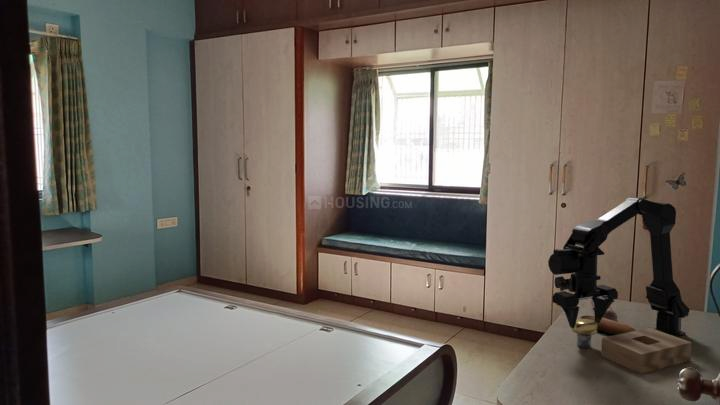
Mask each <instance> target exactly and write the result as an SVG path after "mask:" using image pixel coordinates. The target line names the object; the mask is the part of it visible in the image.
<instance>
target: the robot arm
mask: <svg viewBox="0 0 720 405" xmlns="http://www.w3.org/2000/svg"><path fill="white" fill-rule="evenodd" d="M637 215H639V216H641V218H642V223H643V225H644V226H645V227H646V230H647V231H648V232H649V236H650V237H649V238H650V250H651V264H652V265H651V266H652V281H651V283H650V284H649V285H646V286H645V292H646V296H645V298H646V299H647V301H648V304H649V306H650V308H651V310H652V311H656V320H655V321H656V323H655V328H653V329H655V330H658V331H661V332H664V333H666V334H669V335H672V336H675V337H680V336H684V335H687V333H686V332H685V331H682V319H685V317H688V316H689V314H690V310H691V309H690V307H688V306H687V305H686V304H685V302H684V300H682V295H681V294H682V293H681V291H680V288H679V287H678V285H677V284H676V282H675V280H674V276H673V273H674V272H673V263H672V262H673V261H672V245H671V231H672V230H673V229H674V226H675V225H676V219H677V210H676V207H675V206H673V204H671V203H668V202H667V203H666V202H657V201H651V200H648V199H645V198H643V197H636V196H630V197H628V198H626V199H625V200H624V201H623V202H622V203H620V204H619V205H617V206H616V207H615V208H613V209H611V210H610V211H608V212H606V213H604V215H602V216H600V217H599V218H597V219H595V220H591V221H586V222H583V223H581V224H579V225H576V226H575V227H574V228H572V231H571V232H572V233H571V234H570V236H569V237H568V239H567V240H566V242H565V244H563V245H564V246H562V248H561V249H557V248H556V249H553V253H552V254H551V255H550V256H549V259H548V260H547V261H548V262H547V263H548V268H549V270H550V272H551V273H552V274H553V275H554V276H556V277H554V287H555V288H556V289H559V290H560V291H557V292H554V293H553V294H552V303H553V304H556V305H557V306H559V307H560V308H562V310H563V312H564V314H565V316H566V320H567V322H568V325H569V327H570V329H572V328H574V327H575V324H576V320H577V319H578V315H579V311H580V307H579V306H578V305H579V304H580V301H582V300H589V299H591V298H592V300H593V302H594V308H593V309H594V310H593V311H594V312H593V313H594V315H593V316H595V322H597V323H599V322H600V321H601V319H602V317H603V316H604V314H605V312H606V311H607V309H608V308H609V307H611V305H612V304H613V303H614V302H615V300H618V299H619V295H618V294H619V292H618V291H617V289H616V288H615V287H612V286H607V285H605V284H599V285H597V284H598V281H600V280H601V277H602V276H601V275H598V256H604V255H605V252H604V251H603V250H602V249H601V248H600V246H602V244H603V243H604V242H605V241H607V238H608V236H609V234H610V233H612V232H613V231H614V230H616V229H617V228H619V227H620V226H622V225H623V224H625V223H627V222H628V221H629V220H631V219H633V218H634V217H635V216H637ZM566 274H567V275H569V274H570V278H566V279H565V277H564V276H562V275H566ZM558 275H560V276H558ZM566 290H568V291H569V292H568V291H566Z"/></svg>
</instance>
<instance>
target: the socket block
mask: <svg viewBox="0 0 720 405" xmlns="http://www.w3.org/2000/svg"><path fill="white" fill-rule="evenodd" d="M636 330H637V329H636ZM601 357H603V358H605V359H607V360H610V361H611V362H614V363H616V364H618V365H620V366H623V367H624V368H627V369H629V370H631V371H634V372H636V373H637V374H640V375H642V374H646V373H650V372H653V371H657V370H661V369H665V368H668V367H672V366H676V365H680V363H681V364H683V363H682V362H685V363H687V362H686V361H688V362H691V361H692V342H691V341H689V340H686V339H683V338H680V337H679V336H676V337H675V336H672V335H669V334H666V333H664V332H661V331H658V330H655V329H654V328H653V327H648V328H642V329H638V330H637V331H632V332H628V333H623V334H618V335H614V334H613V335H610V336H606V337H602V338H601ZM690 360H691V361H690Z"/></svg>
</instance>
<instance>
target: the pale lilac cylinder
mask: <svg viewBox="0 0 720 405" xmlns="http://www.w3.org/2000/svg"><path fill="white" fill-rule="evenodd" d="M590 305H591V307H593V309H594V302H593V300H592V298H590ZM603 318H606V319H609V320H612V321H617V322H618V314H617V313H616V312H615V310H614V309H613V308H612V307H611V306H610V307H609V308H608V309H607V311H606V312H605V314H604V316H603Z"/></svg>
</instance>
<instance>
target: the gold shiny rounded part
mask: <svg viewBox="0 0 720 405" xmlns="http://www.w3.org/2000/svg"><path fill="white" fill-rule="evenodd" d="M571 331H572V332H573V333H574V334H576V335H577V336H576V346H577V347H578V348H579V349H584V350H587V349H589V350H590V349H591V347H592V336H594V335H597V334H598V329H597V322H595V321H593V320H590V319H583V318H580V317H579V318H578V317H577V320H576V324H575V327H574V328H571Z"/></svg>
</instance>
